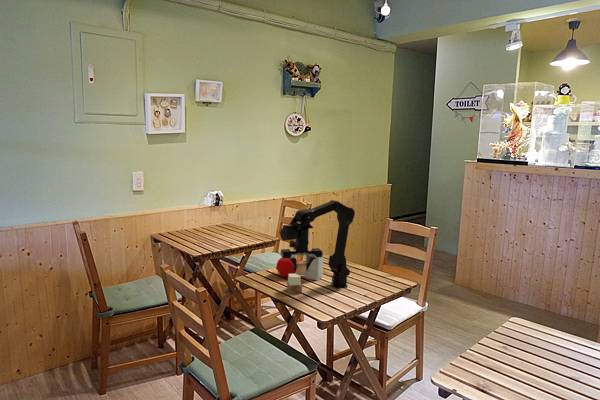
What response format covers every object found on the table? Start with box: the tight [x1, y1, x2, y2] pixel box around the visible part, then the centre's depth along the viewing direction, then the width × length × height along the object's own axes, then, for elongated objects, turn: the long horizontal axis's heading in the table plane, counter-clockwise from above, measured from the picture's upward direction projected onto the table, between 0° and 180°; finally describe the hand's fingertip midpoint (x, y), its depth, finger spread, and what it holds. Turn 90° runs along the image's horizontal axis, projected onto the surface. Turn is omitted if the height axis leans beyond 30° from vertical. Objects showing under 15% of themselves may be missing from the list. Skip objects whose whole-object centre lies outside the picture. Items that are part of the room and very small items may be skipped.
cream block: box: [287, 274, 302, 286], centre depth 197 cm, size 5×5×4 cm
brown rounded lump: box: [295, 261, 307, 276], centre depth 192 cm, size 5×5×4 cm
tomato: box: [275, 257, 299, 278], centre depth 218 cm, size 11×12×10 cm
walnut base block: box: [286, 281, 303, 295], centre depth 197 cm, size 6×6×4 cm
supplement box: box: [304, 255, 324, 281], centre depth 217 cm, size 7×7×13 cm
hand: (300, 271), depth 193 cm, fingers closed on brown rounded lump, 5 cm apart
